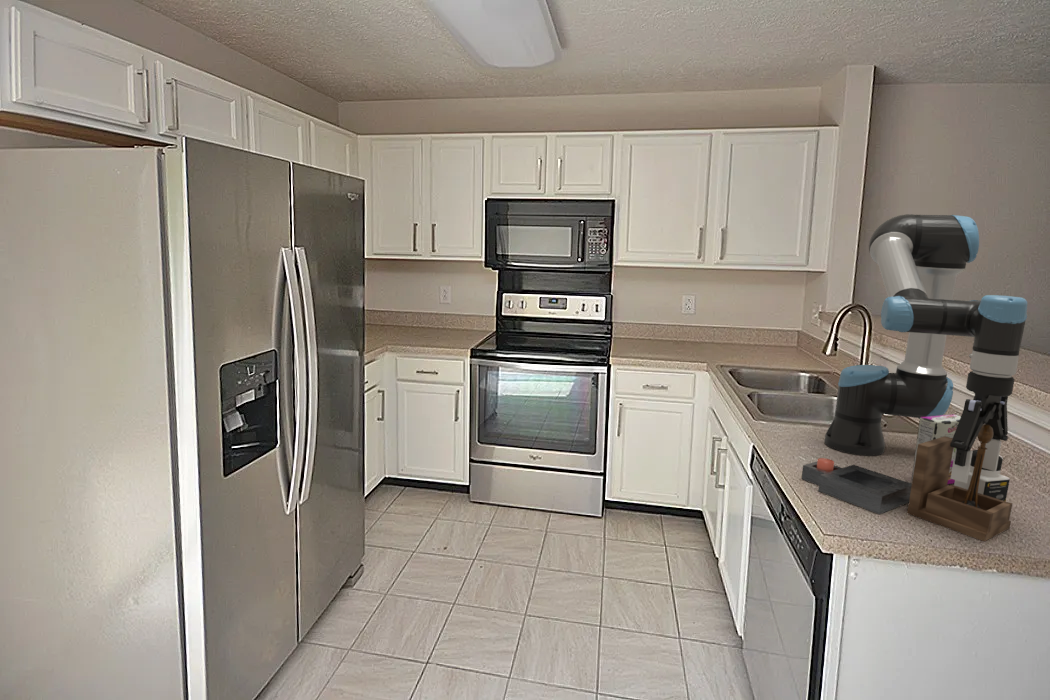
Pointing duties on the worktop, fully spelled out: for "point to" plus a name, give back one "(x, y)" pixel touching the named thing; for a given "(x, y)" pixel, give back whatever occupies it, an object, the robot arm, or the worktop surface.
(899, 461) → the worktop surface
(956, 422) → the candy bar box
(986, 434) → the wooden tabletop sculpture
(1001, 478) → the medicine bottle
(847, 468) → the socket block
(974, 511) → the walnut rack
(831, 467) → the release plunger
